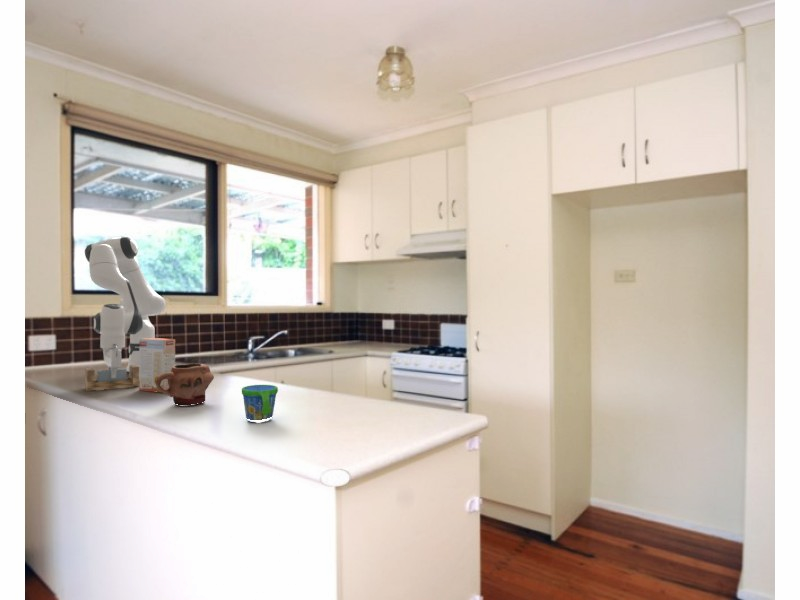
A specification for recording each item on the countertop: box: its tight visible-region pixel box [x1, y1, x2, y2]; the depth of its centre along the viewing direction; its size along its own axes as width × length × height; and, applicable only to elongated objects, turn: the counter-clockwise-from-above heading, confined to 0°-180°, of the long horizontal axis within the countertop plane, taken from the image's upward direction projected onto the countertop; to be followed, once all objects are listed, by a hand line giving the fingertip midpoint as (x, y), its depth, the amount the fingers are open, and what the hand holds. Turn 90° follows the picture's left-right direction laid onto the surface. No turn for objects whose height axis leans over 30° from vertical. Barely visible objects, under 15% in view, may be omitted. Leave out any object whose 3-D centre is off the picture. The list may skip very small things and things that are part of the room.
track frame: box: [84, 365, 139, 392], centre depth 199 cm, size 18×8×8 cm, turn 128°
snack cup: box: [241, 384, 279, 420], centre depth 147 cm, size 16×11×10 cm
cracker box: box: [138, 337, 176, 393], centre depth 193 cm, size 14×6×21 cm, turn 65°
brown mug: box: [156, 363, 215, 405], centre depth 168 cm, size 20×12×14 cm, turn 146°
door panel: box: [97, 368, 127, 382], centre depth 199 cm, size 10×2×6 cm, turn 128°
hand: (112, 376), depth 199 cm, fingers open, 3 cm apart
